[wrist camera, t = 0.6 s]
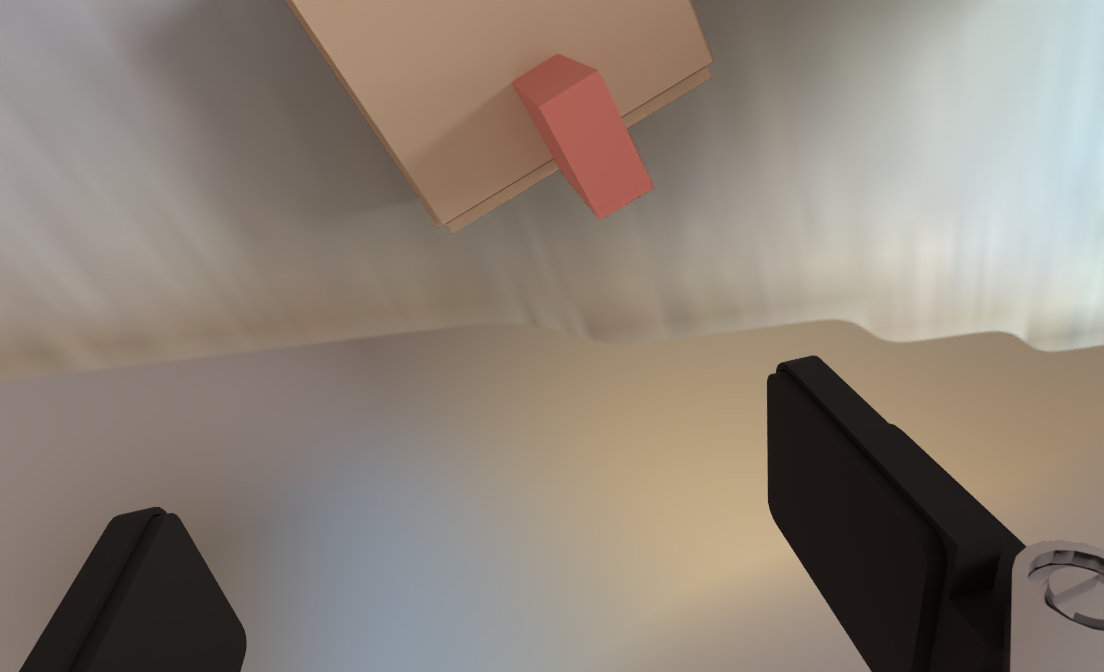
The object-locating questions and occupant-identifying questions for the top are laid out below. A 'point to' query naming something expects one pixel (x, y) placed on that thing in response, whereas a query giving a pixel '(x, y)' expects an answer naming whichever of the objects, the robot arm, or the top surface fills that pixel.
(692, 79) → the carton
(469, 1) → the taped cardboard box
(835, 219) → the top surface
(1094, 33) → the top surface
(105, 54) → the top surface
